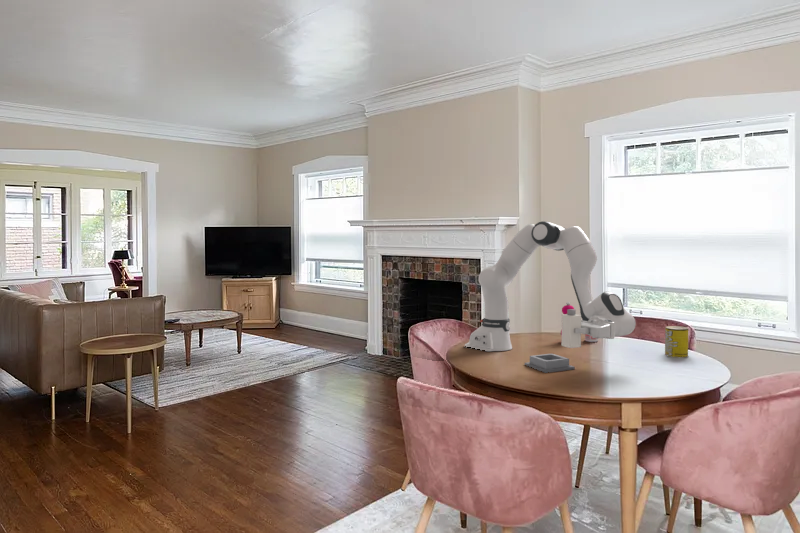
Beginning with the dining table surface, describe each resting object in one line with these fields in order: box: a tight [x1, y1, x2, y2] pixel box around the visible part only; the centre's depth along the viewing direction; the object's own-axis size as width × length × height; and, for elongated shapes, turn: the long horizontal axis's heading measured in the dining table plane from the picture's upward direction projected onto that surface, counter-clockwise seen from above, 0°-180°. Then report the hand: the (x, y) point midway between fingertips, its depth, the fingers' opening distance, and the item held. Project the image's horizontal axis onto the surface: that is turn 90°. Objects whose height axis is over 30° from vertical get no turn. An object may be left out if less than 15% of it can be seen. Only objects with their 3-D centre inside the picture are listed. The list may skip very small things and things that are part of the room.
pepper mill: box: [560, 301, 575, 337], centre depth 274 cm, size 7×7×20 cm
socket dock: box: [523, 353, 575, 374], centre depth 225 cm, size 14×14×4 cm
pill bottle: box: [584, 334, 599, 343], centre depth 278 cm, size 6×6×11 cm
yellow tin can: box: [664, 325, 689, 358], centre depth 244 cm, size 9×9×12 cm
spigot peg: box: [560, 308, 582, 349], centre depth 212 cm, size 5×5×14 cm
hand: (569, 329), depth 211 cm, fingers closed on spigot peg, 5 cm apart
